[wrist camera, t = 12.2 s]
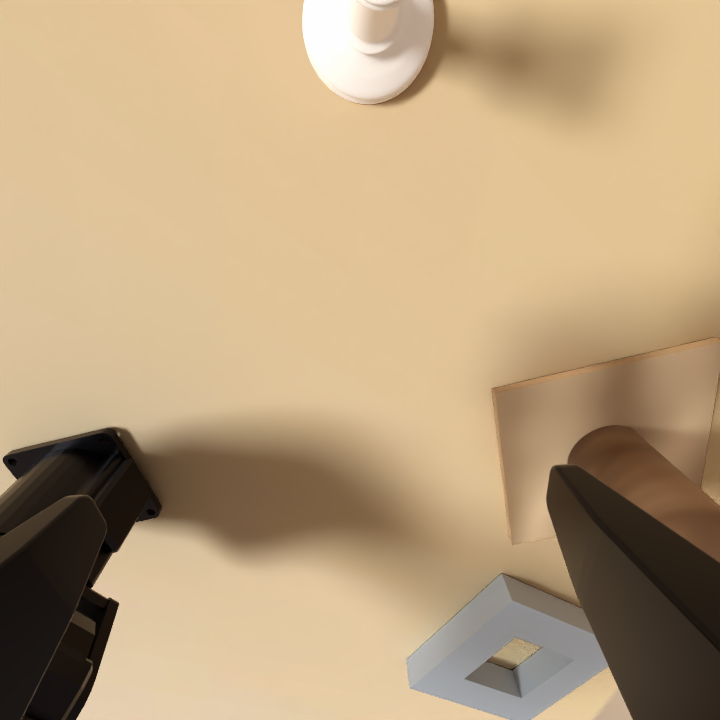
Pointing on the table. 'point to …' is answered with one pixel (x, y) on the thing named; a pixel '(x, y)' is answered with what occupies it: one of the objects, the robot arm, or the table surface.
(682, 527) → the walnut dowel
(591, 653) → the holder block
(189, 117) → the table surface
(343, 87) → the chess piece
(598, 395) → the wooden coaster
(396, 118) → the table surface
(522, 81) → the table surface
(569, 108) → the table surface
